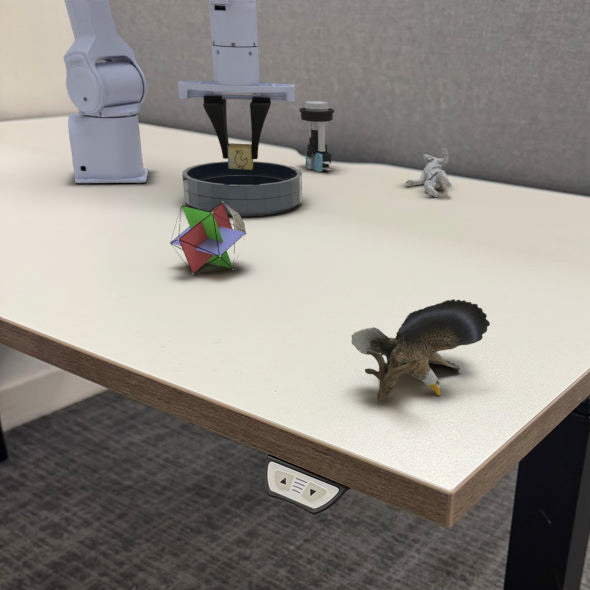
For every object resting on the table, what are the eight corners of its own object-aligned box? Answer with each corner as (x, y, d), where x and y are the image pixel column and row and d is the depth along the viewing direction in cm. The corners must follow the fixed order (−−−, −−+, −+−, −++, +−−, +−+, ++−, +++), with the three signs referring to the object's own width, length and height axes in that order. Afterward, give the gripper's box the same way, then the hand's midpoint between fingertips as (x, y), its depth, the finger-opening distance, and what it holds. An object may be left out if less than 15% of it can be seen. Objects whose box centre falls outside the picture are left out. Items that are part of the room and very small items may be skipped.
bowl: (184, 219, 96) (181, 186, 94) (185, 190, 109) (182, 160, 107) (308, 217, 100) (308, 185, 98) (295, 189, 113) (294, 160, 111)
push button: (344, 172, 124) (344, 105, 120) (314, 175, 122) (313, 106, 117) (323, 164, 129) (323, 99, 124) (294, 167, 126) (293, 100, 122)
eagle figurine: (446, 412, 52) (510, 348, 58) (391, 320, 51) (463, 263, 57) (374, 430, 58) (439, 370, 64) (323, 348, 56) (395, 294, 62)
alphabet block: (230, 165, 107) (229, 142, 105) (253, 166, 107) (252, 142, 105) (228, 170, 104) (226, 146, 102) (252, 170, 104) (251, 147, 103)
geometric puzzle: (195, 267, 74) (227, 190, 74) (143, 253, 77) (175, 178, 77) (239, 295, 80) (268, 223, 81) (190, 280, 83) (218, 211, 84)
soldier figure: (409, 204, 112) (395, 161, 120) (430, 224, 115) (414, 180, 123) (452, 168, 109) (434, 126, 117) (472, 189, 112) (453, 147, 120)
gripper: (294, 45, 103) (296, 153, 109) (180, 41, 101) (189, 150, 107) (293, 49, 96) (295, 163, 103) (171, 45, 95) (181, 160, 101)
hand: (240, 157), depth 105 cm, fingers closed on alphabet block, 3 cm apart
